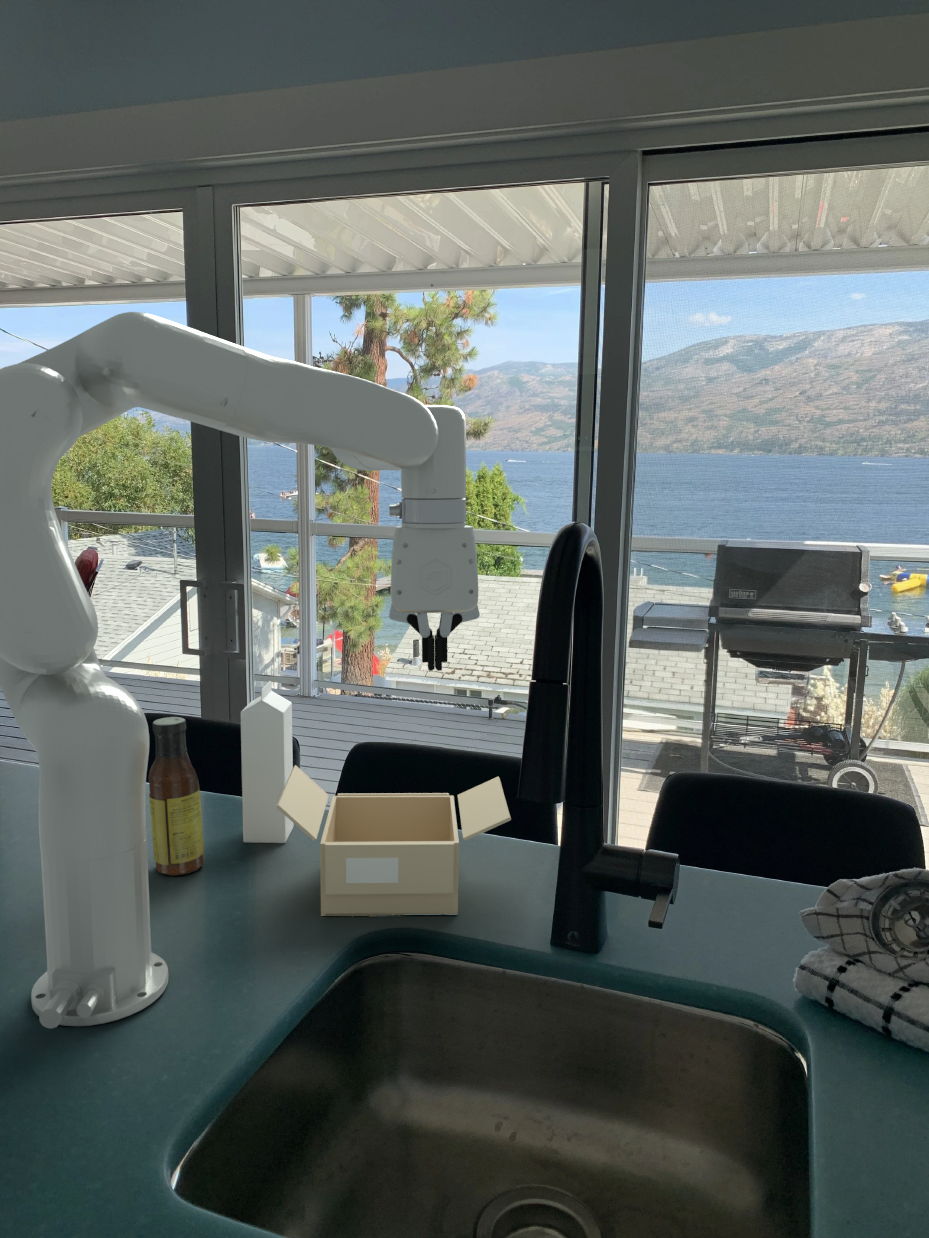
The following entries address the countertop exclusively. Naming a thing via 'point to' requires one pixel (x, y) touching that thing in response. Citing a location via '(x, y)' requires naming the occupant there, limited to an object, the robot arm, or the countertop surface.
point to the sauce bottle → (174, 801)
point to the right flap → (482, 808)
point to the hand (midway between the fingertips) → (434, 668)
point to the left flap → (303, 802)
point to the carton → (390, 855)
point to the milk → (266, 766)
